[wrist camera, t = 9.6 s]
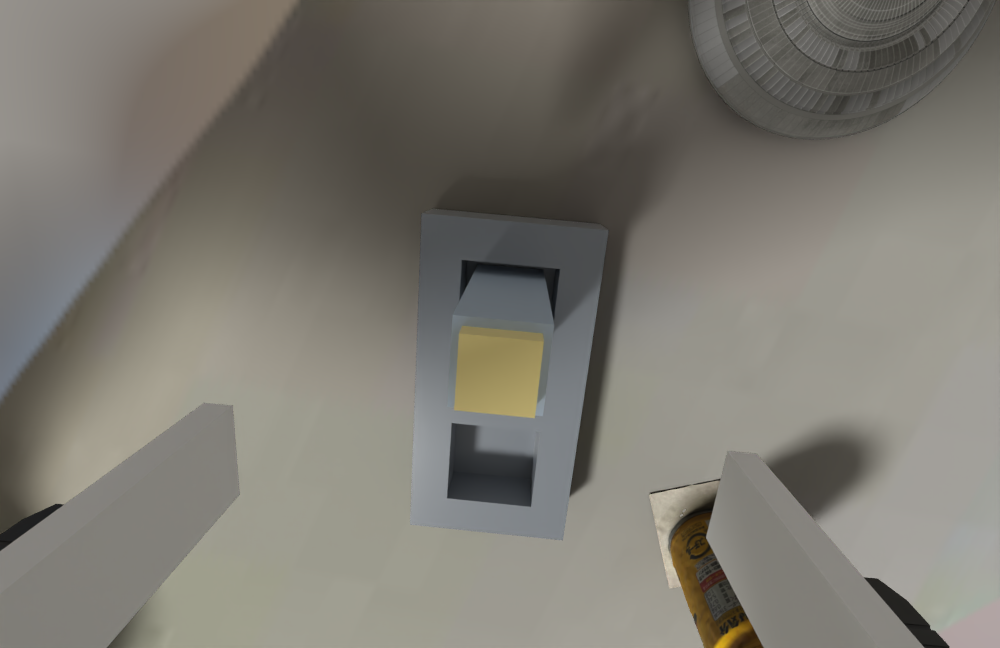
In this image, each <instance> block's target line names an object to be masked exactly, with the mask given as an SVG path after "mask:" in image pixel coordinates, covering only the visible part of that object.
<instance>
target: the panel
mask: <svg viewBox="0 0 1000 648" xmlns="http://www.w3.org/2000/svg"><path fill="white" fill-rule="evenodd" d="M608 233H609V230H608V229H606V228H605V227H603V226H602V225H600V224H597V223H586V222H575V221H564V220H553V219H542V218H531V217H520V216H509V215H498V214H487V213H475V212H464V211H453V210H442V209H431V210H429V211H426V212H424V213H422V215H421V243H420V270H419V297H418V324H417V352H416V379H415V406H414V434H413V461H412V488H411V515H410V525H420V526H429V527H439V528H449V529H458V530H468V531H478V532H487V533H497V534H507V535H517V536H526V537H536V538H546V539H555V540H563V535H564V528H565V522H566V515H567V508H568V501H569V495H570V488H571V481H572V475H573V468H574V461H575V454H576V448H577V441H578V434H579V428H580V421H581V414H582V407H583V401H584V394H585V387H586V381H587V374H588V367H589V360H590V354H591V347H592V340H593V333H594V327H595V320H596V313H597V307H598V300H599V293H600V286H601V280H602V273H603V266H604V260H605V253H606V246H607V239H608ZM478 264H483V265H493V266H504V267H515V268H526V269H537V270H544V275H545V280H546V285H547V290H548V295H549V300H550V306H551V311H552V316H553V321H554V331H553V339H552V347H551V355H550V364H549V372H548V380H547V388H546V396H545V404H544V412H543V416H535V418H527V417H517V416H507V415H497V414H487V413H477V412H467V411H456V410H454V408H453V407H447V402H448V385H449V368H450V351H451V334H452V317H453V313H454V311H455V309H456V307H457V305H458V303H459V301H460V299H461V297H462V295H463V293H464V291H465V289H466V287H467V285H468V283H469V281H470V279H471V277H472V275H473V273H474V271H475V269H476V267H477V265H478Z"/></svg>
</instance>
